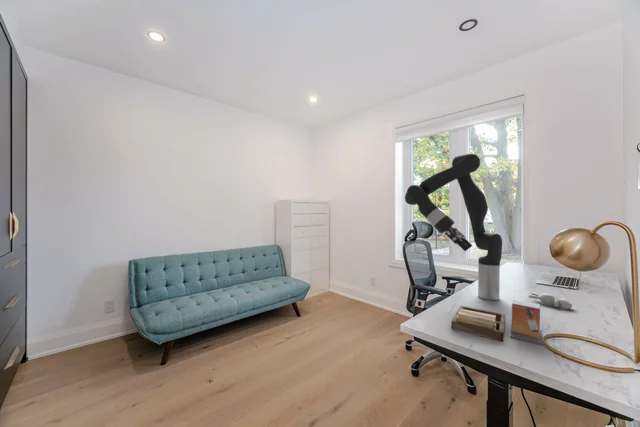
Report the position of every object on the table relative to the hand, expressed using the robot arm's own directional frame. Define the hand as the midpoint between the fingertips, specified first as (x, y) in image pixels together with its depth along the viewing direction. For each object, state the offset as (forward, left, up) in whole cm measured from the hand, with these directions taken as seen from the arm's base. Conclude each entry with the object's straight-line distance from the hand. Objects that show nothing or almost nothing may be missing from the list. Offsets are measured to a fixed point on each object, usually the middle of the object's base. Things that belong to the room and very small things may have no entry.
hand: (469, 248), depth 111 cm
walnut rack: (+7, +5, -29) cm, 30 cm away
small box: (+6, +19, -28) cm, 34 cm away
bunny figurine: (-39, +29, -29) cm, 57 cm away
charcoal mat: (+6, +19, -29) cm, 35 cm away
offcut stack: (+12, +4, -29) cm, 32 cm away
